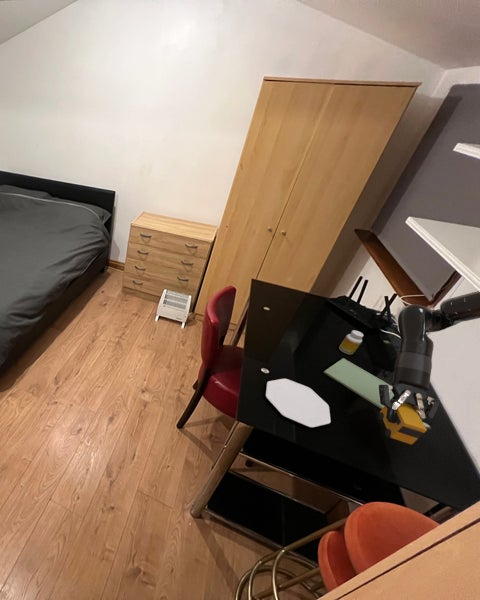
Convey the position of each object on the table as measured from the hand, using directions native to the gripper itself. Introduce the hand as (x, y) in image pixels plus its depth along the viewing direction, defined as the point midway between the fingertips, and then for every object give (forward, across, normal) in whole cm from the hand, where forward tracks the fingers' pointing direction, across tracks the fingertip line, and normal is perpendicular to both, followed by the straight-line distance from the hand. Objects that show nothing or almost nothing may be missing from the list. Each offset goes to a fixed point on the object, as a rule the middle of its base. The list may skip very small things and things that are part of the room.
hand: (403, 426), depth 93 cm
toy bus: (+2, 0, +4) cm, 5 cm away
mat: (-14, +3, +30) cm, 33 cm away
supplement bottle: (-28, +2, +45) cm, 53 cm away
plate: (+3, -23, +14) cm, 27 cm away
